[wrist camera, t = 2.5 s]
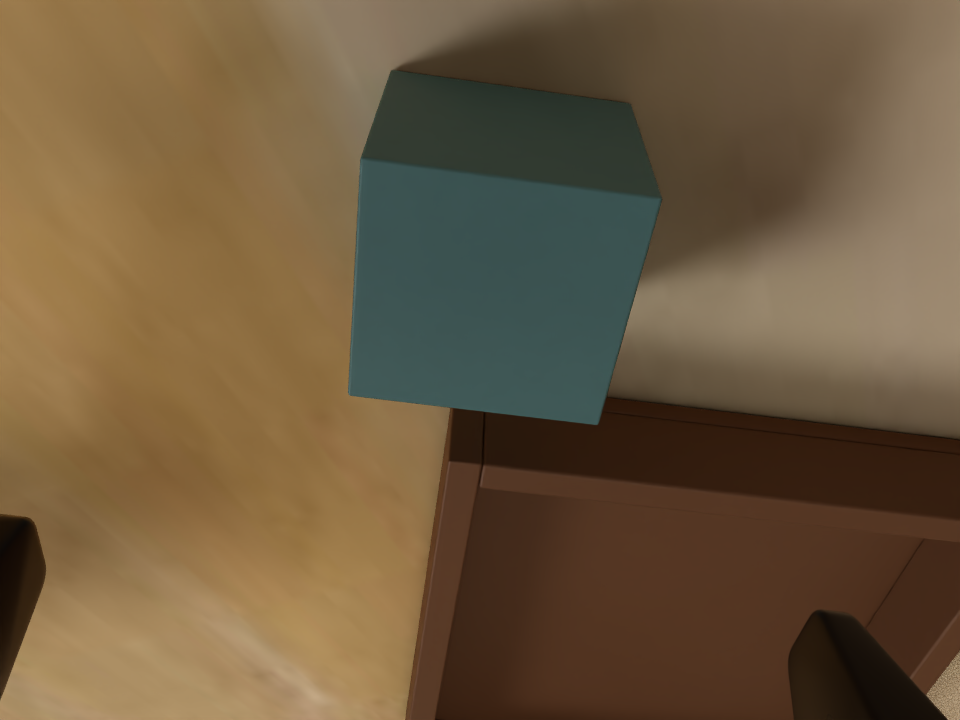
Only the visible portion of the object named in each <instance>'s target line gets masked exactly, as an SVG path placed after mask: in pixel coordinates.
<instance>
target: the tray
mask: <svg viewBox="0 0 960 720" xmlns="http://www.w3.org/2000/svg"><path fill="white" fill-rule="evenodd" d="M819 609H823V610H832V611H841V612H846V613H849V614H851V615H853V616H854V617H855V618H856V619H857V620H858V621H859V622H860V623H861V624H862V625H863V626H864V627H865V628H866V629H867V631H868V632H869V633H870V634H871V635H872V636H873V637H874V638H875V639H876V641H877V642H878V643H879V644H880V645H881V646H882V647H883V648H884V649H885V651H886V652H887V653H888V654H889V655H890V656H891V657H892V658H893V659H894V660H895V662H896V663H897V664H898V665H899V666H900V667H901V668H902V669H903V670H904V672H905V673H906V674H907V675H908V676H909V677H910V678H911V679H912V680H913V682H914V683H915V684H916V685H917V686H918V687H919V688H920V689H921V690H922V692H923V693H924V694H925V695H926V694H927V692H928V691H929V690H930V688H931V687H932V686H933V685H934V683H935V682H936V681H937V679H938V678H939V677H940V676H941V674H942V673H943V672H944V670H945V669H946V668H947V666H948V665H949V664H950V663H951V661H952V660H953V659H954V657H955V656H956V655H957V654H958V652H959V651H960V440H953V439H945V438H937V437H929V436H920V435H912V434H904V433H895V432H887V431H879V430H871V429H862V428H854V427H846V426H837V425H829V424H821V423H813V422H804V421H796V420H788V419H780V418H771V417H763V416H755V415H746V414H738V413H730V412H722V411H713V410H705V409H697V408H688V407H680V406H672V405H664V404H655V403H647V402H639V401H631V400H622V399H614V398H606V400H605V403H604V407H603V410H602V414H601V417H600V421H599V423H598V425H593V424H584V423H576V422H567V421H559V420H550V419H542V418H534V417H525V416H517V415H508V414H500V413H492V412H483V411H475V410H466V409H458V408H450V415H449V422H448V429H447V436H446V443H445V449H444V456H443V463H442V470H441V477H440V484H439V491H438V497H437V504H436V511H435V518H434V525H433V532H432V539H431V546H430V552H429V559H428V566H427V573H426V580H425V587H424V594H423V600H422V607H421V614H420V621H419V628H418V635H417V642H416V649H415V655H414V662H413V669H412V676H411V683H410V690H409V697H408V703H407V710H406V719H405V720H794V717H793V708H792V700H791V692H790V683H789V675H788V657H789V653H790V650H791V647H792V646H793V644H794V642H795V640H796V639H797V637H798V635H799V633H800V632H801V630H802V628H803V627H804V625H805V623H806V621H807V620H808V618H809V616H810V615H811V614H812V613H813V612H814V611H816V610H819Z"/></svg>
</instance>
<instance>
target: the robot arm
mask: <svg viewBox="0 0 960 720" xmlns="http://www.w3.org/2000/svg"><path fill="white" fill-rule="evenodd" d="M45 575H46V564H45V559H44V555H43V552H42V548H41V544H40V540H39V536H38V532H37V528H36V525H35V523H34V522H33V521H32V520H31V519H30V518H28V517H22V516H14V515H5V514H0V699H1V697H2V694H3V692H4V689H5V687H6V684H7V681H8V678H9V676H10V673H11V670H12V668H13V665H14V662H15V660H16V657H17V654H18V652H19V649H20V646H21V644H22V641H23V638H24V636H25V633H26V630H27V628H28V625H29V622H30V620H31V617H32V614H33V612H34V609H35V606H36V603H37V601H38V598H39V595H40V593H41V590H42V587H43V584H44V580H45ZM788 675H789V683H790V692H791V700H792V708H793V717H794V720H948V719H947V718H946V717H945V716H944V715H943V714H942V713H941V711H940V710H939V709H938V708H937V707H936V706H935V705H934V704H933V703H932V701H931V700H930V699H929V698H928V697H927V696H926V695H925V694H924V693H923V692H922V690H921V689H920V688H919V687H918V686H917V685H916V684H915V683H914V682H913V680H912V679H911V678H910V677H909V676H908V675H907V674H906V673H905V672H904V670H903V669H902V668H901V667H900V666H899V665H898V664H897V663H896V662H895V660H894V659H893V658H892V657H891V656H890V655H889V654H888V653H887V652H886V651H885V649H884V648H883V647H882V646H881V645H880V644H879V643H878V642H877V641H876V639H875V638H874V637H873V636H872V635H871V634H870V633H869V632H868V631H867V629H866V628H865V627H864V626H863V625H862V624H861V623H860V622H859V621H858V620H857V619H856V618H855V617H854V616H853V615H851V614H849V613H846V612H841V611H832V610H823V609H819V610H816V611H814V612H813V613H812V614H811V615H810V616H809V618H808V620H807V621H806V623H805V625H804V627H803V628H802V630H801V632H800V633H799V635H798V637H797V639H796V640H795V642H794V644H793V646H792V647H791V650H790V653H789V657H788Z"/></svg>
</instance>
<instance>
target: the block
mask: <svg viewBox="0 0 960 720" xmlns="http://www.w3.org/2000/svg"><path fill="white" fill-rule="evenodd" d="M661 202H662V197H661V194H660V191H659V188H658V185H657V182H656V179H655V176H654V173H653V170H652V167H651V164H650V161H649V158H648V155H647V152H646V149H645V146H644V143H643V140H642V137H641V134H640V131H639V128H638V125H637V122H636V119H635V116H634V113H633V110H632V107H631V104H629V103H623V102H615V101H608V100H601V99H594V98H587V97H580V96H573V95H566V94H559V93H552V92H545V91H538V90H530V89H523V88H516V87H509V86H502V85H495V84H488V83H481V82H474V81H467V80H460V79H453V78H445V77H438V76H431V75H424V74H417V73H410V72H403V71H396V70H392V71H391V72H390V75H389V78H388V80H387V83H386V86H385V89H384V92H383V95H382V98H381V101H380V104H379V107H378V109H377V112H376V115H375V118H374V121H373V124H372V127H371V130H370V133H369V135H368V138H367V141H366V144H365V147H364V150H363V153H362V156H361V159H360V175H359V194H358V213H357V232H356V252H355V271H354V290H353V309H352V328H351V347H350V366H349V385H348V393H349V395H350V396H357V397H365V398H374V399H382V400H391V401H399V402H407V403H416V404H424V405H433V406H441V407H449V408H458V409H466V410H475V411H483V412H492V413H500V414H508V415H517V416H525V417H534V418H542V419H550V420H559V421H567V422H576V423H584V424H593V425H598V423H599V421H600V417H601V414H602V410H603V407H604V403H605V400H606V396H607V393H608V389H609V386H610V382H611V379H612V375H613V371H614V368H615V364H616V361H617V357H618V354H619V350H620V347H621V343H622V340H623V336H624V333H625V329H626V326H627V322H628V319H629V315H630V312H631V308H632V304H633V301H634V297H635V294H636V290H637V287H638V283H639V280H640V276H641V273H642V269H643V266H644V262H645V259H646V255H647V252H648V248H649V244H650V241H651V237H652V234H653V230H654V227H655V223H656V220H657V216H658V213H659V209H660V206H661Z"/></svg>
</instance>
